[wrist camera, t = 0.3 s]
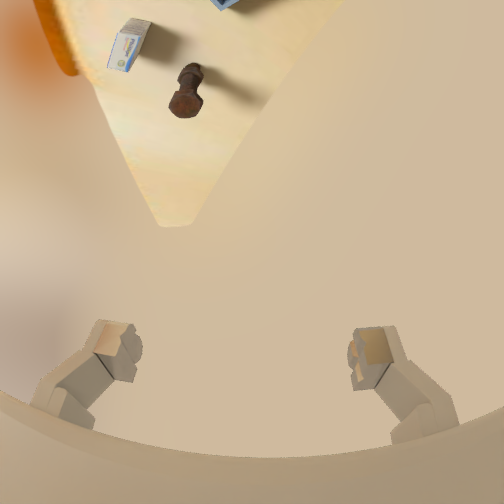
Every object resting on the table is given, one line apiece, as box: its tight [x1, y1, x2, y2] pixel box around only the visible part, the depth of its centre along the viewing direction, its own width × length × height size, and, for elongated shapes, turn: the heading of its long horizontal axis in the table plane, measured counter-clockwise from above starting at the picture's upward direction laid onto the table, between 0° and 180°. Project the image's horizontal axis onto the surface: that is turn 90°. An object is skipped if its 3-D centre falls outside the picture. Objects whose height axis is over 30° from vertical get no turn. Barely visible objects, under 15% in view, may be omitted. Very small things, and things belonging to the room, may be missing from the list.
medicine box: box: [107, 18, 151, 72], centre depth 37 cm, size 8×4×9 cm, turn 150°
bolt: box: [169, 63, 204, 118], centre depth 45 cm, size 6×5×15 cm
